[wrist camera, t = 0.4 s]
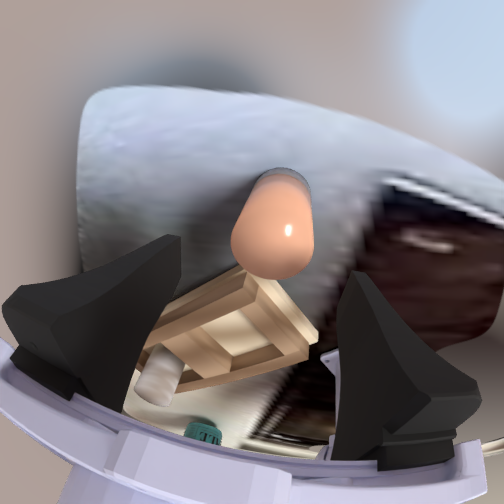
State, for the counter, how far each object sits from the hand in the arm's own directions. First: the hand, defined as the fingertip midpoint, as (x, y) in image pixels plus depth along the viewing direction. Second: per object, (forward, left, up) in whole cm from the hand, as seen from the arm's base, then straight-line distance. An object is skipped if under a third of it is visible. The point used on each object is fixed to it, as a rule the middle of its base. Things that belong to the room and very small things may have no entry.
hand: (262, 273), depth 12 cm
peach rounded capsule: (0, 0, -9) cm, 9 cm away
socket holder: (-8, +15, -9) cm, 19 cm away
